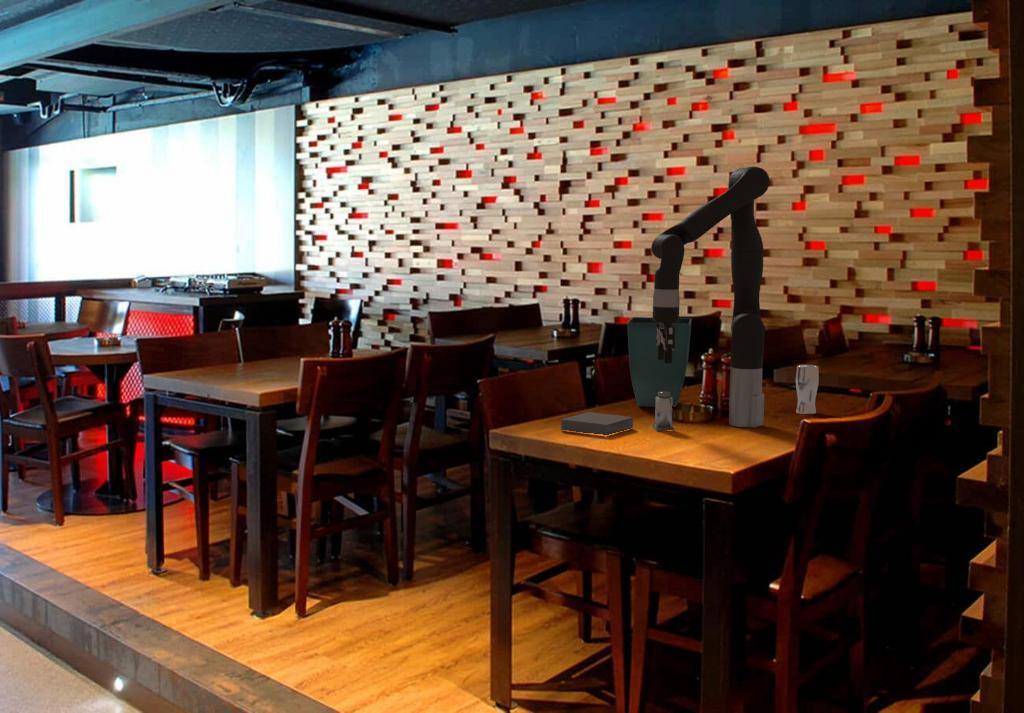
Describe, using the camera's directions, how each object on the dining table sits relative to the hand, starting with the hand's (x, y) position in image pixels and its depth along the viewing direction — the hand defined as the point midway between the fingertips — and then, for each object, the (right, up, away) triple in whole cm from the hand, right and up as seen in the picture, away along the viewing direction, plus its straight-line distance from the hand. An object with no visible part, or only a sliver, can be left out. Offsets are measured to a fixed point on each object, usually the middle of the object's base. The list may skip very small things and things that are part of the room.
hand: (664, 361), depth 293 cm
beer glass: (+50, -17, +32) cm, 61 cm away
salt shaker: (0, -20, +2) cm, 20 cm away
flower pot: (+5, -15, +46) cm, 49 cm away
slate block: (-19, -20, +1) cm, 28 cm away
